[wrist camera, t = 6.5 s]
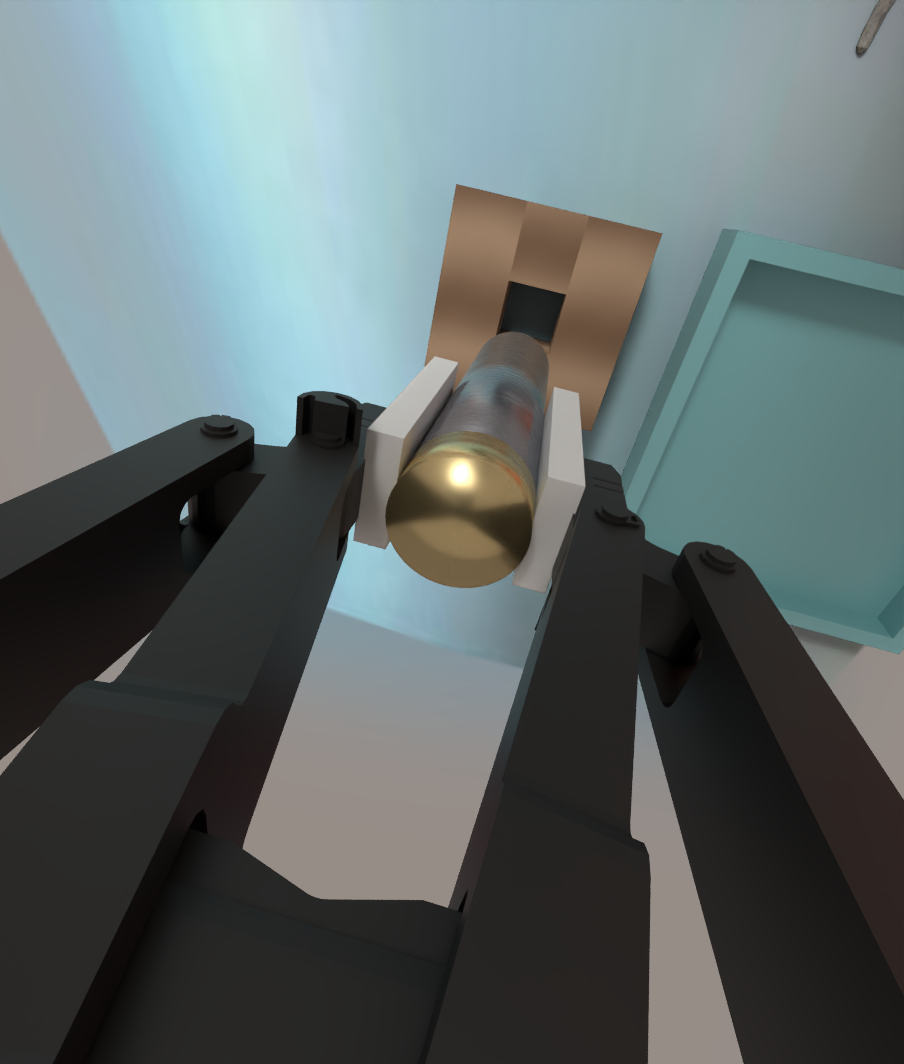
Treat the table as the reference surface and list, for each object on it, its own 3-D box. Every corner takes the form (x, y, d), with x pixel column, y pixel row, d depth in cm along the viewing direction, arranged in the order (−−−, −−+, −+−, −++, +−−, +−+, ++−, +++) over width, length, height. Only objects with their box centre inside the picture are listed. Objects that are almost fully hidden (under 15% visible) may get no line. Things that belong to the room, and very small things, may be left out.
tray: (723, 229, 33) (738, 230, 30) (1124, 324, 32) (1182, 335, 29) (591, 548, 46) (593, 571, 43) (876, 625, 44) (899, 654, 42)
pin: (484, 323, 21) (396, 440, 10) (558, 342, 21) (550, 481, 10) (467, 396, 23) (376, 566, 12) (537, 414, 23) (510, 603, 12)
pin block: (467, 187, 34) (456, 184, 31) (652, 231, 34) (662, 233, 30) (432, 372, 41) (420, 387, 37) (588, 413, 40) (591, 431, 37)
